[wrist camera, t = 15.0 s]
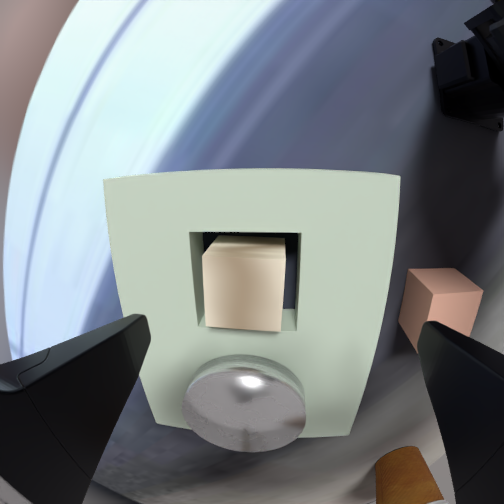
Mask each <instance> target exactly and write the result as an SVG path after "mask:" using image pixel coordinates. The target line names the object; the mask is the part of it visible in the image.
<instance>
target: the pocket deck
mask: <svg viewBox="0 0 504 504" xmlns="http://www.w3.org/2000/svg"><path fill="white" fill-rule="evenodd" d="M103 183H104V196H105V207H106V217H107V225H108V233H109V241H110V248H111V254H112V260H113V266H114V272H115V278H116V283H117V288H118V293H119V298H120V303H121V307H122V312H123V316H124V317H127V316H129V315H131V314H143V315H145V316H146V317H147V320H148V325H149V329H150V334H151V342H150V345H149V348H148V351H147V354H146V356H145V359H144V362H143V365H142V368H141V370H140V373H139V375H140V378H141V381H142V384H143V387H144V390H145V393H146V396H147V399H148V402H149V405H150V407H151V410H152V413H153V416H154V418H155V421H156V423H159V424H163V425H168V426H174V427H179V428H185V429H191V428H190V427H189V425H188V424H187V423H186V421H185V419H184V417H183V414H182V402H183V399H184V396H185V394H186V391H187V389H188V386H189V384H190V381H191V379H192V377H193V375H194V373H195V372H196V370H197V369H198V368H199V367H200V366H201V365H203V364H204V363H206V362H208V361H210V360H212V359H214V358H217V357H221V356H226V355H234V354H247V355H255V356H260V357H264V358H268V359H271V360H273V361H276V362H278V363H280V364H282V365H284V366H285V367H287V368H288V369H290V370H291V371H292V372H293V373H294V374H295V375H296V376H297V377H298V378H299V380H300V381H301V383H302V385H303V388H304V392H305V406H306V424H305V427H304V429H303V431H302V433H301V434H300V435H299V436H298V437H297V438H305V437H332V436H346V435H349V433H350V430H351V428H352V425H353V422H354V419H355V416H356V414H357V411H358V408H359V405H360V402H361V399H362V395H363V392H364V389H365V386H366V382H367V379H368V376H369V372H370V369H371V365H372V361H373V358H374V354H375V350H376V346H377V342H378V338H379V333H380V329H381V324H382V320H383V315H384V310H385V305H386V300H387V295H388V289H389V283H390V277H391V271H392V264H393V257H394V249H395V241H396V231H397V221H398V209H399V194H400V176H397V175H391V174H385V173H374V172H360V171H344V170H323V169H283V168H254V169H214V170H193V171H177V172H163V173H151V174H140V175H130V176H122V177H116V178H110V179H104V180H103ZM203 232H289V233H298V257H297V281H296V301H295V309H282V321H281V332H277V331H260V330H245V329H232V328H220V327H209V326H206V322H205V306H204V287H203V266H202V255H203V254H204V244H203ZM191 430H192V429H191Z"/></svg>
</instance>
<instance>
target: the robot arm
mask: <svg viewBox="0 0 504 504" xmlns="http://www.w3.org/2000/svg"><path fill="white" fill-rule="evenodd" d="M464 24H465V25H466V27H467V28H468V29H469V30H471V31H472V32H473V33H474V35H475V36H473V37H471V38H469V39H467V40H466V41H464V40H461V41H459V42H458V43H453V42H450V41H447V40H444V39H441V38H436V39H434V40H433V46H434V52H435V64H436V71H437V79H438V86H439V88H440V98H441V110H442V113H443V114H444V115H445V116H447V117H450V118H454V119H458V120H461V121H465V122H469V123H472V124H476V125H479V126H482V127H485V128H488V129H491V130H494V131H502V130H503V117H504V0H500V1H499V2H497V3H495V4H493V5H492V6H490V7H489V8H487V9H485V10H484V11H482V12H481V13H479V14H477V15H476V16H474V17H473V18H471V19H470V20H468V21H467V22H465V23H464ZM438 42H439V43H440V44H441V46H440V45H439V44H438ZM447 108H448V109H449V112H448V111H447ZM498 125H499V127H498ZM150 342H151V334H150V329H149V325H148V320H147V317H146V316H145V315H143V314H131V315H129V316H127V317H124V318H122V319H119V320H117V321H114V322H112V323H109V324H107V325H104V326H102V327H100V328H97V329H95V330H92V331H90V332H87V333H85V334H82V335H80V336H77V337H75V338H72V339H70V340H67V341H65V342H62V343H60V344H57V345H55V346H52V347H51V348H47V349H44V350H42V351H39V352H37V353H34V354H31V355H28V356H25V357H22V358H19V359H16V360H13V361H10V362H7V363H3V364H0V504H82V503H83V500H84V498H85V495H86V492H87V490H88V488H89V485H90V483H91V479H92V478H93V475H94V473H95V470H96V468H97V466H98V463H99V461H100V459H101V456H102V454H103V452H104V450H105V447H106V445H107V443H108V441H109V438H110V436H111V434H112V432H113V430H114V427H115V425H116V423H117V421H118V419H119V416H120V414H121V412H122V410H123V408H124V406H125V404H126V402H127V399H128V397H129V395H130V393H131V391H132V389H133V387H134V385H135V383H136V380H137V378H138V376H139V373H140V370H141V368H142V365H143V362H144V359H145V356H146V354H147V351H148V348H149V345H150ZM417 351H418V354H419V358H420V362H421V366H422V371H423V375H424V379H425V383H426V387H427V390H428V393H429V396H430V399H431V402H432V406H433V409H434V412H435V415H436V418H437V422H438V425H439V429H440V432H441V436H442V440H443V443H444V447H445V451H446V455H447V459H448V464H449V468H450V473H451V477H452V482H453V487H454V492H455V499H456V504H504V355H503V354H501V353H499V352H497V351H496V350H494V349H492V348H490V347H488V346H486V345H484V344H482V343H480V342H478V341H476V340H474V339H472V338H470V337H468V336H466V335H464V334H462V333H460V332H458V331H456V330H454V329H452V328H450V327H448V326H446V325H444V324H442V323H440V322H438V321H426V322H424V323H423V326H422V329H421V332H420V335H419V339H418V342H417Z"/></svg>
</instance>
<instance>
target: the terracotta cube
mask: <svg viewBox="0 0 504 504" xmlns="http://www.w3.org/2000/svg"><path fill="white" fill-rule="evenodd" d="M482 294H483V290H482V289H481V288H479V287H478V286H477V285H476V284H474V283H473V282H472V281H470V280H469V279H468V278H467V277H465V276H464V275H463V274H461V273H460V272H459V271H457V270H456V269H455V268H431V269H408V272H407V278H406V284H405V290H404V295H403V300H402V305H401V310H400V315H399V319H398V322H399V324H400V325H401V327H402V328H403V330H404V332H405V333H406V335H407V337H408V338H409V340H410V342H411V343H412V345H413V347H414V348H415V350H416V352H417V353H418V351H417V342H418V339H419V335H420V332H421V329H422V326H423V323H424V322H426V321H438V322H440V323H442V324H444V325H446V326H448V327H450V328H452V329H454V330H456V331H458V332H460V333H462V334H464V335H466V336H468V337H469V336H470V333H471V330H472V327H473V324H474V321H475V318H476V315H477V311H478V308H479V305H480V301H481V297H482Z"/></svg>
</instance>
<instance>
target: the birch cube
mask: <svg viewBox="0 0 504 504" xmlns="http://www.w3.org/2000/svg"><path fill="white" fill-rule="evenodd" d="M285 263H286V255H285V238H272V237H250V236H226V235H218V237H217V238H216V239H215V240H214V242H213V243H212V244H211V245H210V247H209V248H208V249H207V250H206V251H205V253H204V254H203V255H202V266H203V287H204V306H205V322H206V326H209V327H220V328H232V329H245V330H260V331H277V332H281V321H282V308H283V294H284V279H285Z"/></svg>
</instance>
